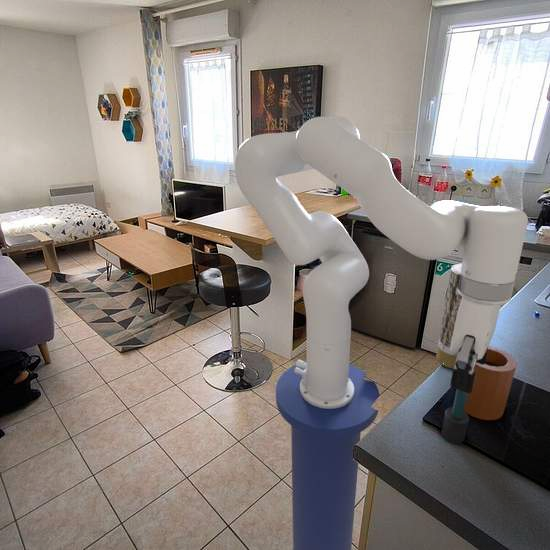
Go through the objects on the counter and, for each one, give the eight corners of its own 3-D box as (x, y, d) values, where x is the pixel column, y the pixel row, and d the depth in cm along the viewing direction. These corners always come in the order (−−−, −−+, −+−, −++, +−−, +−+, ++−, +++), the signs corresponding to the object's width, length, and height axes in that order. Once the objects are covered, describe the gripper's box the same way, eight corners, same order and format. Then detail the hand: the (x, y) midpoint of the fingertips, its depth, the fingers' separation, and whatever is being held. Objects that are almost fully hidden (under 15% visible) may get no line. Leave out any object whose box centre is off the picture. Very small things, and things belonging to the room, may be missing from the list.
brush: (438, 436, 69) (452, 363, 63) (444, 424, 72) (459, 352, 66) (461, 447, 67) (478, 371, 61) (466, 433, 70) (483, 360, 63)
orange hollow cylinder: (450, 407, 77) (459, 359, 72) (461, 384, 83) (471, 339, 78) (498, 427, 71) (512, 377, 67) (507, 401, 78) (520, 354, 73)
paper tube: (465, 357, 92) (484, 265, 83) (465, 372, 87) (486, 276, 77) (436, 351, 95) (451, 262, 85) (435, 366, 89) (451, 272, 80)
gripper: (472, 265, 66) (458, 345, 72) (443, 299, 54) (430, 392, 60) (521, 273, 61) (501, 358, 68) (501, 313, 49) (480, 412, 56)
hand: (468, 374), depth 64 cm, fingers open, 9 cm apart
